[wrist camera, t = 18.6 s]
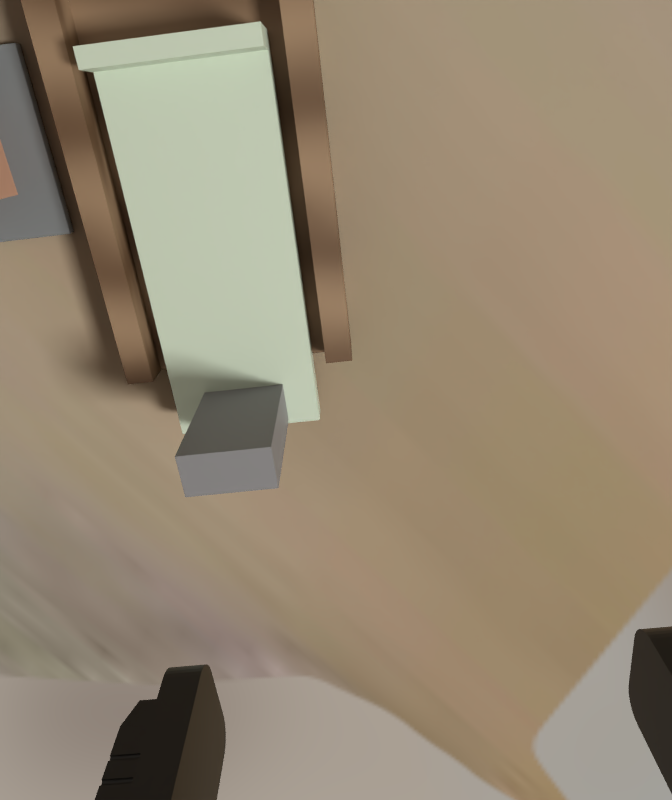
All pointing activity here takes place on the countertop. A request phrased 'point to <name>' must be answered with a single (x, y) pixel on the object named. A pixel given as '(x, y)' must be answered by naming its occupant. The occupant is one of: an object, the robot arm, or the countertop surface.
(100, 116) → the lane board
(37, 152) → the pad
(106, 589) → the countertop surface
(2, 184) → the cube
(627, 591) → the countertop surface
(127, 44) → the light green piece
